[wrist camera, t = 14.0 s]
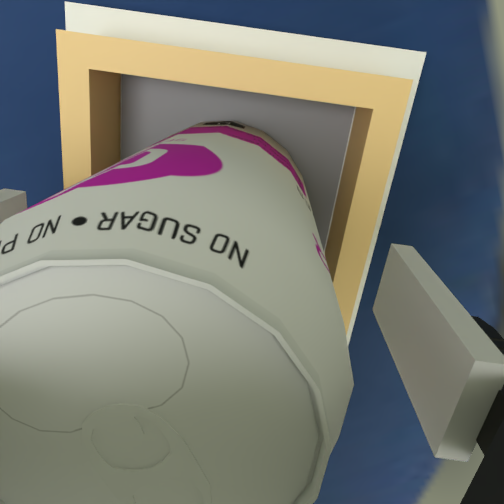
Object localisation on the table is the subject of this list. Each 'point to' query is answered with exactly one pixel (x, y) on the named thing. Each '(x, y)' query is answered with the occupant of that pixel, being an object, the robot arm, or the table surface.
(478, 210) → the table surface
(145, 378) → the supplement can
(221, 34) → the tan-rimmed shallow tray
